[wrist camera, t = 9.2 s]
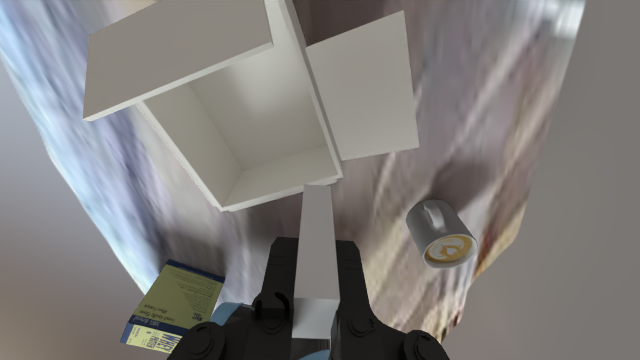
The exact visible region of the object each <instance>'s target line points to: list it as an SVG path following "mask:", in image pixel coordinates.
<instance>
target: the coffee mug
mask: <svg viewBox="0 0 640 360" xmlns="http://www.w3.org/2000/svg"><path fill="white" fill-rule="evenodd" d="M406 223H407V225H408V228H409V230H410V232H411V234H412V236H413V239H414V241H415V243H416V245H417V247H418V250H419V252H420V254H421V256H422V259H423V260H424V262H425V263H426V264H427V265H428V266H430V267H432V268H435V269H449V268H454V267H457V266H460V265H462V264H464V263H466V262H467V261H469V260H470V259H471V258H472V257H473V256H474V255H475V254H476V252H477V249H478V244H477V241H476V240H475V238H474V237H473V236H472V234H471V233H470V232H469V230H468V229H467V228H466V226H465V225H464V224H463V222H462V221H461V220H460V218H459V217H458V216H457V214H456V213H455V212H454V210H453V209H452V208H451V206H450V205H449V204H448V203H447V202H445V201H443V200H438V199H432V200H426V201H423V202H421V203H419V204H417V205H415V206H414V207H413V208H412V209H411V210H410V211H409V213H408V215H407V218H406Z"/></svg>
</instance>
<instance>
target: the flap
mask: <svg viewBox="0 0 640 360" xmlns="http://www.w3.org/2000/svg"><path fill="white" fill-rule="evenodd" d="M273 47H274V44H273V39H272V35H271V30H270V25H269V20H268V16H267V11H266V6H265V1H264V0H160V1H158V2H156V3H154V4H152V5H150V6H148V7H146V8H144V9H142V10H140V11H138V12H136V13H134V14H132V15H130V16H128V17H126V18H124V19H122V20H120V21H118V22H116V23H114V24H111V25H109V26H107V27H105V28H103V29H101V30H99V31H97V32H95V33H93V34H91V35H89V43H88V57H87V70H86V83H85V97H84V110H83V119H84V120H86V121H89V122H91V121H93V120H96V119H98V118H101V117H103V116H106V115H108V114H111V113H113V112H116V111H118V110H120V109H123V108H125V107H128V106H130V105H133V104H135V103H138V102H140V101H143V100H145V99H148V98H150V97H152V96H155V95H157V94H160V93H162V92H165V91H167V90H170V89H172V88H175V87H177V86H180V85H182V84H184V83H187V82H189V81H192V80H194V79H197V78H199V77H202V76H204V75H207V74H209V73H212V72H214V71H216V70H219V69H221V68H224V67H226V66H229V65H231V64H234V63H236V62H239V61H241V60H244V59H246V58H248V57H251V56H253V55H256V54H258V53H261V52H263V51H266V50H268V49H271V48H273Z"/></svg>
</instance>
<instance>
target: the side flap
mask: <svg viewBox="0 0 640 360" xmlns="http://www.w3.org/2000/svg"><path fill="white" fill-rule="evenodd" d="M305 50H306V53H307V56H308V59H309V62H310V65H311V68H312V71H313V74H314V77H315V80H316V83H317V86H318V90H319V93H320V96H321V99H322V102H323V105H324V108H325V111H326V114H327V117H328V120H329V123H330V126H331V129H332V132H333V136H334V139H335V142H336V145H337V148H338V151H339V154H340V157H341V160H342V161H344V160H350V159H355V158H361V157H367V156H373V155H378V154H384V153H390V152H396V151H401V150H407V149H413V148H419V141H418V133H417V124H416V115H415V106H414V97H413V88H412V79H411V70H410V62H409V53H408V44H407V35H406V26H405V17H404V10H401V11H399V12H396V13H393V14H391V15H388V16H386V17H383V18H380V19H378V20H375V21H373V22H370V23H367V24H365V25H362V26H360V27H357V28H354V29H352V30H349V31H347V32H344V33H341V34H339V35H336V36H334V37H331V38H328V39H326V40H323V41H321V42H318V43H315V44H313V45H310V46H308V47H305Z"/></svg>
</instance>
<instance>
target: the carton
mask: <svg viewBox="0 0 640 360" xmlns="http://www.w3.org/2000/svg"><path fill="white" fill-rule="evenodd" d="M264 1H265V6H266V11H267V16H268V20H269V25H270V30H271V35H272V39H273V44H274V47H273V48H271V49H268V50H266V51H263V52H261V53H258V54H256V55H253V56H251V57H248V58H246V59H244V60H241V61H239V62H236V63H234V64H231V65H229V66H226V67H224V68H221V69H219V70H216V71H214V72H212V73H209V74H207V75H204V76H202V77H199V78H197V79H194V80H192V81H189V82H187V83H184V84H182V85H180V86H177V87H175V88H172V89H170V90H167V91H165V92H162V93H160V94H157V95H155V96H152V97H150V98H148V99H145V100H143V101H140V102H138V103H135V105H136V106H137V108H138V109H139V110H140V111H141V113H142V114H143V115H144V117H145V118H146V119H147V121H148V122H149V123H150V124H151V126H152V127H153V128H154V130H155V131H156V132H157V134H158V135H159V136H160V137H161V139H162V140H163V141H164V143H165V144H166V145H167V147H168V148H169V149H170V150H171V152H172V153H173V154H174V156H175V157H176V158H177V160H178V161H179V162H180V164H181V165H182V166H183V167H184V169H185V170H186V171H187V173H188V174H189V175H190V177H191V178H192V179H193V180H194V182H195V183H196V184H197V186H198V187H199V188H200V190H201V191H202V192H203V193H204V195H205V196H206V197H207V199H208V200H209V201H210V203H211V204H212V205H213V207H214V206H217V207H218V209H219V210H220V211H221V212H222V211H226V210H229V211H230V212H233V211H236V210H240V209H243V208H247V207H250V206H254V205H258V204H261V203H265V202H268V201H272V200H275V199H279V198H282V197H286V196H290V195H293V194H297V193H300V192H303V191H304V184H310V185H322V186H325V185H329V184H332V183H336V182H337V179H338V178H342V177H343V171H342V165H341V159H340V154H339V151H338V148H337V145H336V142H335V139H334V136H333V132H332V129H331V126H330V123H329V120H328V117H327V114H326V111H325V108H324V105H323V102H322V99H321V96H320V93H319V90H318V86H317V83H316V80H315V77H314V74H313V71H312V68H311V65H310V62H309V59H308V56H307V53H306V50H305V47H307V45H306V42H305V39H304V36H303V32H302V29H301V26H300V23H299V20H298V17H297V14H296V11H295V7H294V4H293V1H292V0H264Z"/></svg>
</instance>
